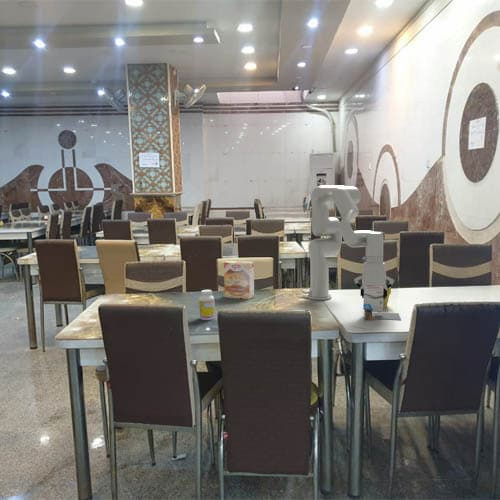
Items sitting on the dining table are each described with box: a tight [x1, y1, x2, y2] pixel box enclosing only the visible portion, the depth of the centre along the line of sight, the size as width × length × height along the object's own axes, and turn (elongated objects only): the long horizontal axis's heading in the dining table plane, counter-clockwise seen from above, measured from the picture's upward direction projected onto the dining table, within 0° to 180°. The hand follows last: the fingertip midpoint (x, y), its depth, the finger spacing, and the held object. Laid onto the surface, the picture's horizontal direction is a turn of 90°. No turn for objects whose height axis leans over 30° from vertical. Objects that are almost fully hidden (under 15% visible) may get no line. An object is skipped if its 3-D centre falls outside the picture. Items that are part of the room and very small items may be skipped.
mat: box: [373, 311, 402, 321], centre depth 203 cm, size 11×11×1 cm
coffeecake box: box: [223, 260, 255, 300], centre depth 247 cm, size 15×7×20 cm, turn 68°
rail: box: [363, 310, 374, 321], centre depth 204 cm, size 3×15×2 cm, turn 168°
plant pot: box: [383, 286, 392, 309], centre depth 221 cm, size 10×10×10 cm
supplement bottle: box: [198, 289, 216, 321], centre depth 204 cm, size 7×7×13 cm
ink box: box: [362, 285, 384, 312], centre depth 203 cm, size 9×5×15 cm, turn 71°
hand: (373, 297), depth 203 cm, fingers closed on ink box, 9 cm apart
